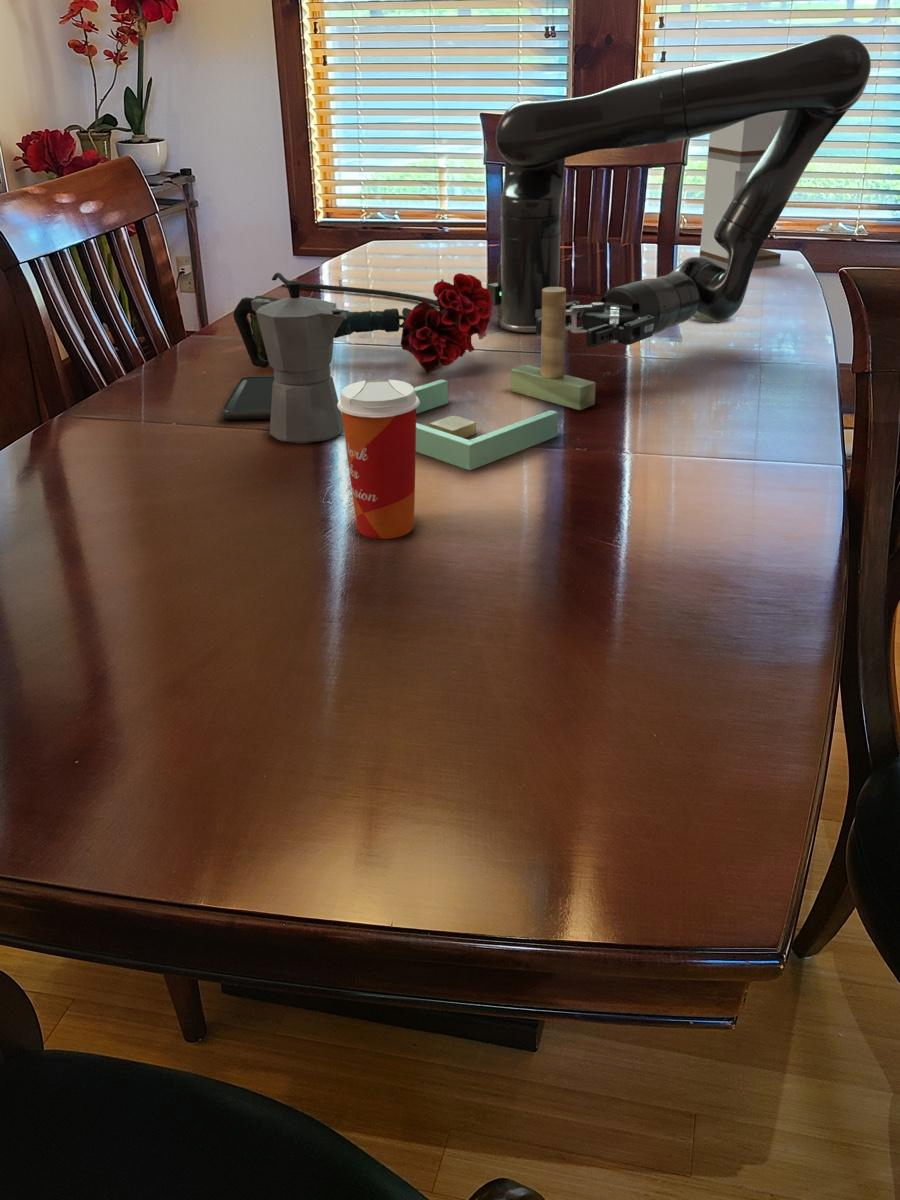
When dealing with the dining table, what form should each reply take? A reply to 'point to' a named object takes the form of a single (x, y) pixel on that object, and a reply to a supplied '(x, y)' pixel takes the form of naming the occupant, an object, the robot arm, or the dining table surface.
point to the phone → (250, 399)
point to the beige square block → (455, 426)
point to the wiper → (553, 361)
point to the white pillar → (734, 178)
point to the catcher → (484, 446)
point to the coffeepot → (296, 362)
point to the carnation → (423, 322)
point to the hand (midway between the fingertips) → (562, 332)
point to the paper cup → (381, 454)
